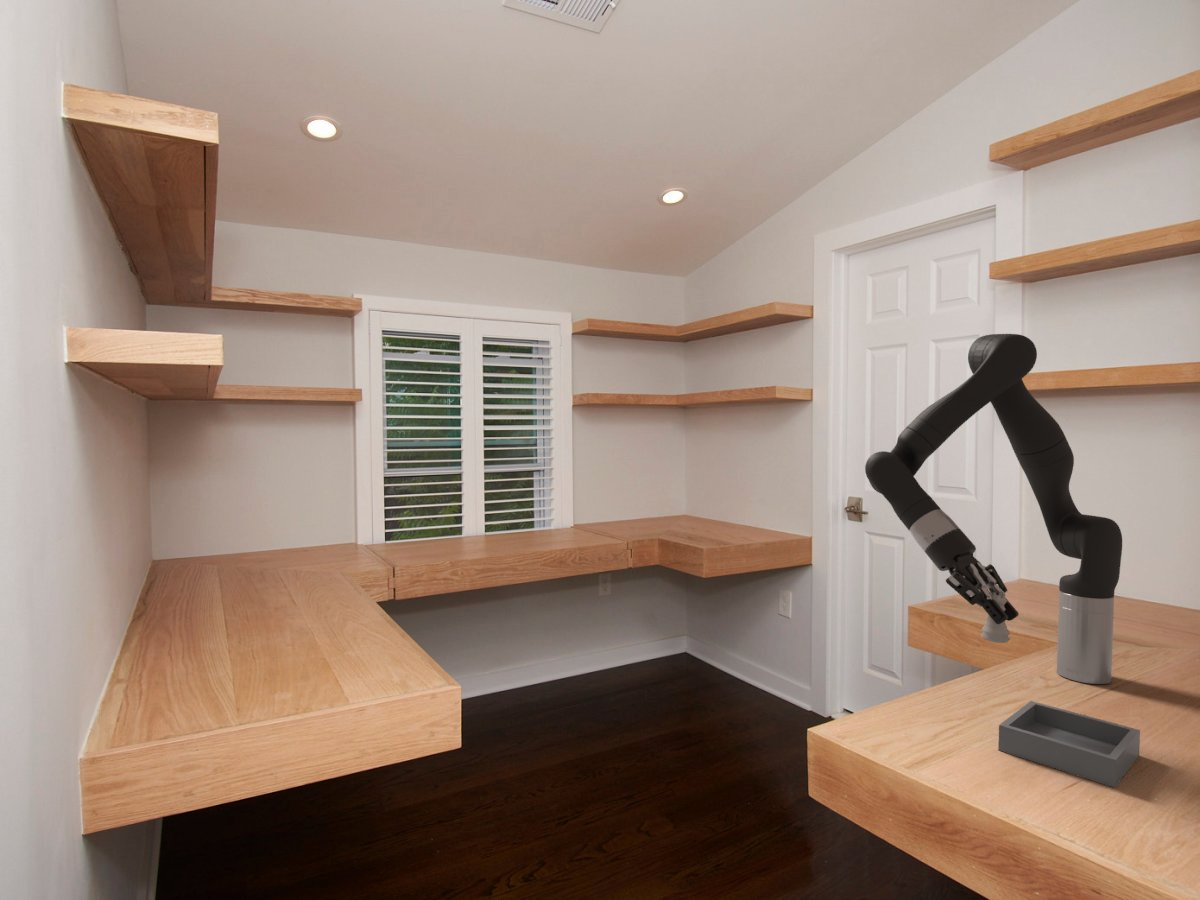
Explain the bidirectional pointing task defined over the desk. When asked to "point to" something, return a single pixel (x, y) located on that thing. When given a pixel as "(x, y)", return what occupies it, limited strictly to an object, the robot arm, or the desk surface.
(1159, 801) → the desk surface
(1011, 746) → the tray
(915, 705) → the desk surface
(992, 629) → the rook chess piece
